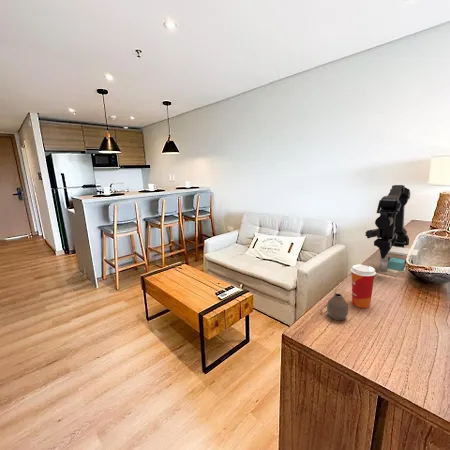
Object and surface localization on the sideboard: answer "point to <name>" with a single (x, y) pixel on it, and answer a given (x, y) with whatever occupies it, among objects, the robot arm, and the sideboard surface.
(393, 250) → the tunnel
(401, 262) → the block
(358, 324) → the sideboard surface
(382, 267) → the sled
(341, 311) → the vase
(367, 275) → the coffee cup
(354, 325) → the sideboard surface
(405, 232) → the robot arm
